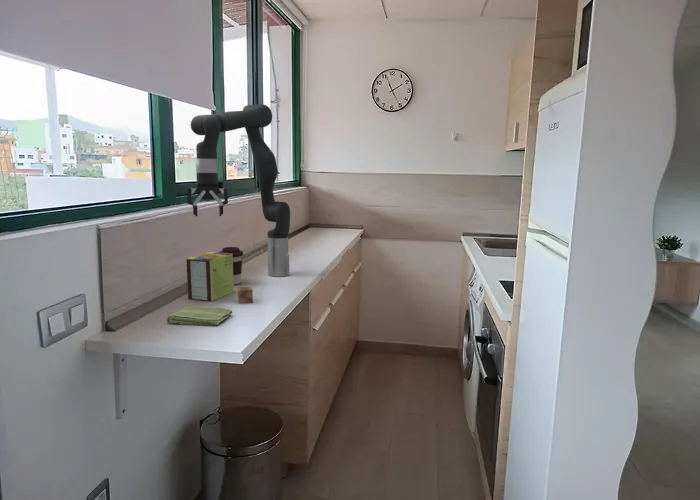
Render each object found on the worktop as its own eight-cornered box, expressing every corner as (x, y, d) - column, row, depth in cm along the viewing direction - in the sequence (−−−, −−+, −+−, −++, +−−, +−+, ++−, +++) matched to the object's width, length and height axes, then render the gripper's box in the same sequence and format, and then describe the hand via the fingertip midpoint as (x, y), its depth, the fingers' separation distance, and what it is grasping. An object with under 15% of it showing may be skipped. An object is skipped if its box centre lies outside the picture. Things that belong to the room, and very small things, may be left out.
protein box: (234, 292, 196) (233, 253, 193) (211, 301, 181) (209, 260, 179) (211, 289, 199) (210, 251, 196) (187, 299, 185) (185, 258, 182)
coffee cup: (237, 286, 204) (236, 250, 201) (215, 285, 206) (214, 249, 203) (247, 281, 213) (246, 246, 211) (226, 279, 215) (224, 245, 213)
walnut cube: (251, 299, 185) (251, 286, 184) (252, 303, 180) (252, 289, 180) (238, 300, 184) (237, 287, 183) (238, 304, 179) (238, 290, 178)
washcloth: (219, 328, 154) (219, 318, 153) (165, 325, 156) (164, 315, 155) (234, 315, 167) (233, 306, 166) (183, 313, 168) (183, 304, 168)
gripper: (227, 171, 186) (228, 215, 189) (187, 171, 183) (188, 215, 186) (227, 172, 179) (228, 216, 182) (185, 171, 176) (187, 217, 178)
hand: (208, 216), depth 184 cm, fingers open, 8 cm apart
